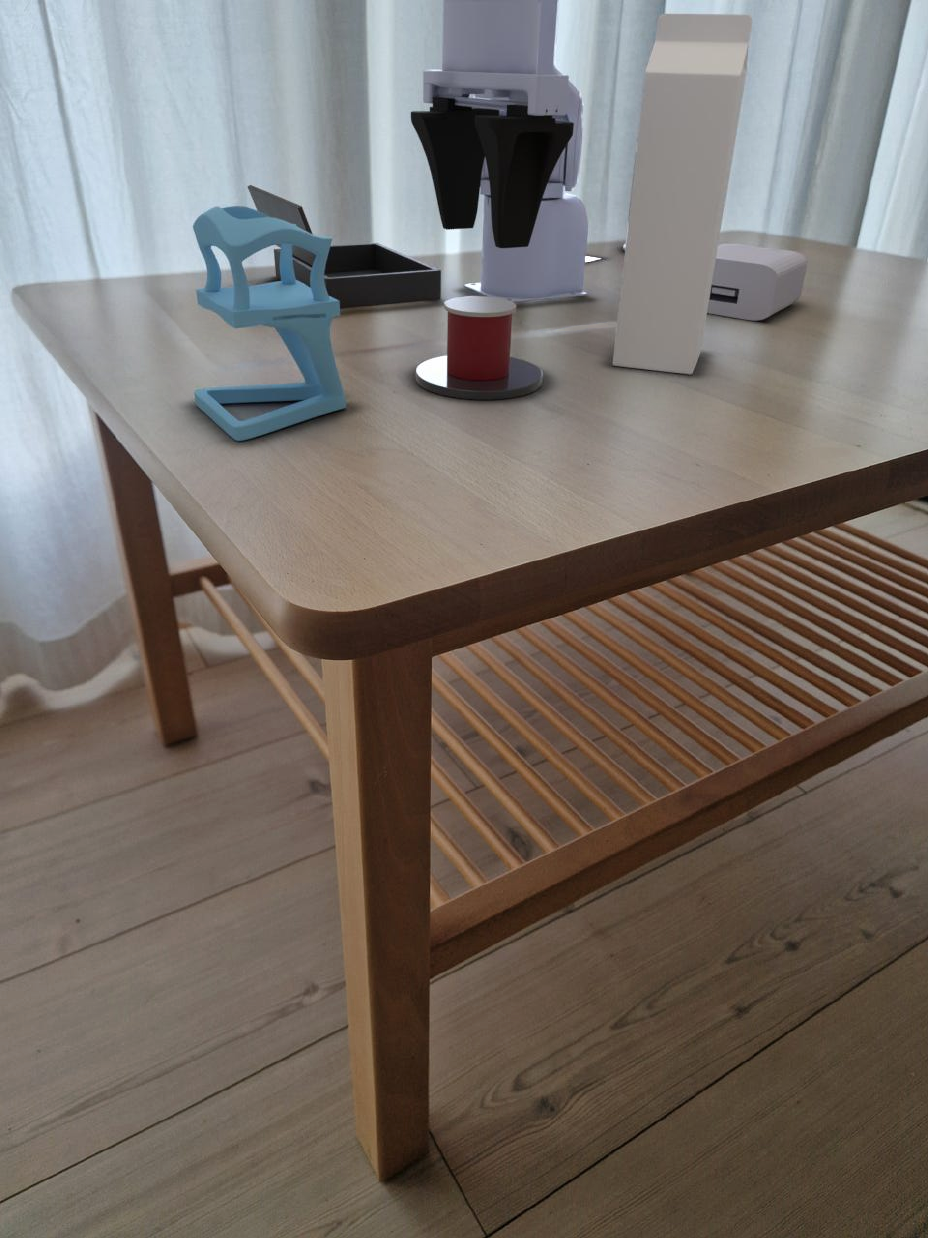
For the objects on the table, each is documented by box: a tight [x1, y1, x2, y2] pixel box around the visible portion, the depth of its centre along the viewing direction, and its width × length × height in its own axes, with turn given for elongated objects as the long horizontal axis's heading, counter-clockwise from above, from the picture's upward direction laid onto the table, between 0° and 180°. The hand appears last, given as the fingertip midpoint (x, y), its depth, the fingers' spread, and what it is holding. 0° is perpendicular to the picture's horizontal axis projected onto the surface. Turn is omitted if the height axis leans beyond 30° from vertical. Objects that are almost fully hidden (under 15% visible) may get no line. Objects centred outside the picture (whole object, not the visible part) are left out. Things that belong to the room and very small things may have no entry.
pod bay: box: [273, 242, 442, 310], centre depth 85 cm, size 11×15×3 cm
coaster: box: [415, 354, 544, 401], centre depth 63 cm, size 9×9×1 cm
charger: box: [707, 242, 809, 322], centre depth 85 cm, size 5×9×15 cm
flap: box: [247, 184, 327, 271], centre depth 80 cm, size 5×15×1 cm
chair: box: [192, 205, 347, 442], centre depth 53 cm, size 8×8×12 cm
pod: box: [443, 295, 517, 381], centre depth 61 cm, size 5×5×5 cm
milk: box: [612, 13, 753, 375], centre depth 63 cm, size 6×6×22 cm
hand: (483, 237), depth 58 cm, fingers open, 7 cm apart
